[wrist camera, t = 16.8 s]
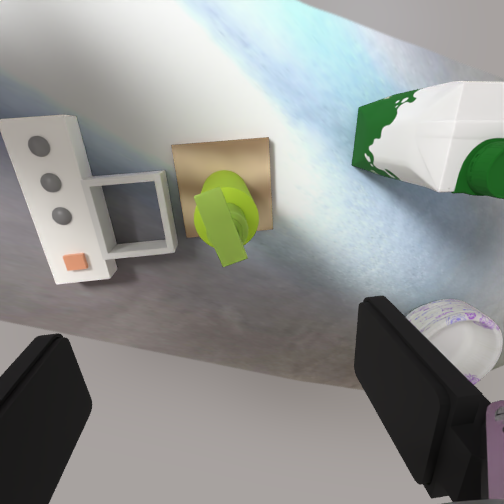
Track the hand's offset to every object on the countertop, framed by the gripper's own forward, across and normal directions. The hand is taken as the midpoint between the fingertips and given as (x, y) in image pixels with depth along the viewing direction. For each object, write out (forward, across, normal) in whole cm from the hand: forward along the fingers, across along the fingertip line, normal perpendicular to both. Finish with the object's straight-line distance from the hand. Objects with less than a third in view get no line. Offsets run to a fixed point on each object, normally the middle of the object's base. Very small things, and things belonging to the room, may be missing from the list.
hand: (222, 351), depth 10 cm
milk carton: (+32, -22, -5) cm, 39 cm away
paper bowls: (+32, -33, +27) cm, 54 cm away
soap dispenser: (+31, 0, 0) cm, 31 cm away
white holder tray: (+32, +15, 0) cm, 36 cm away
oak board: (+32, -1, 0) cm, 32 cm away
